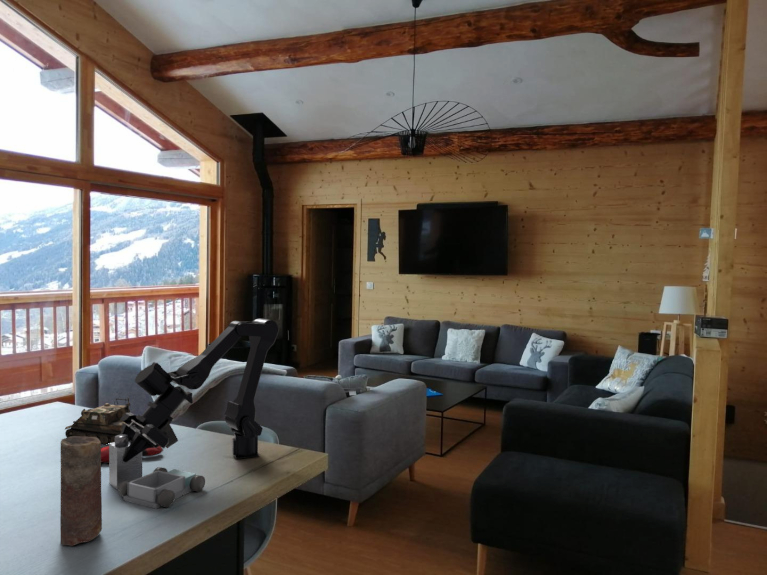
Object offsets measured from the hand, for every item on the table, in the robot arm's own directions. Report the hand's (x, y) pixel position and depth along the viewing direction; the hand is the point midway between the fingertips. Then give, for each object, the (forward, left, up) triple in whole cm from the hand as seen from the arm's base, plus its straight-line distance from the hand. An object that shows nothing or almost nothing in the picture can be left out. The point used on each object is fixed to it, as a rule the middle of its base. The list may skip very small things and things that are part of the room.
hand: (119, 458), depth 144 cm
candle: (+6, +27, -7) cm, 29 cm away
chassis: (-10, +9, -7) cm, 15 cm away
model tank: (+5, -42, -7) cm, 43 cm away
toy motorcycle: (+2, -22, -7) cm, 23 cm away
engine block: (-1, -1, -7) cm, 7 cm away
